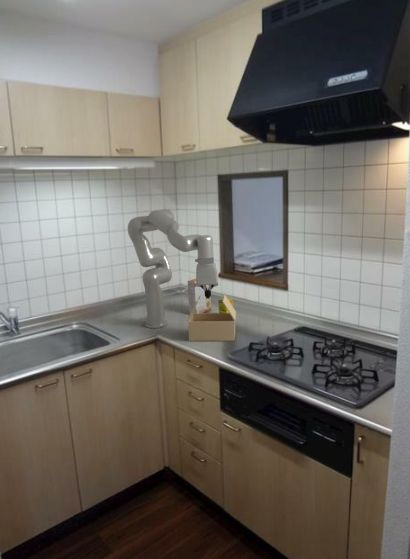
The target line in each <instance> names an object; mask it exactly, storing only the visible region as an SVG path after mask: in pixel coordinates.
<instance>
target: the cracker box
mask: <svg viewBox="0 0 410 559" xmlns="http://www.w3.org/2000/svg"><path fill="white" fill-rule="evenodd" d="M196 285H197V283H196V278H193V279H190V280H187V293H188V294H187V295H188V309H189V314H190V313H191V311H192V309H193V307H194V305H195V304H196V302H197V300H198V298H199V296H200V295H201V297H200V299H199V301H198V303H197V305H196V307H195V309H194V311H193V313H205V312H206V313H208V312H210V310H211V311H212V302H211V301H212V300H211V297H210V298H209V299H208V298H207V299H206V297H205V291H204V290H203V289H202V288H201V287H197V286H196ZM206 288H207V290H208V288H209V285H206ZM207 311H208V312H207ZM191 315H192V314H191Z"/></svg>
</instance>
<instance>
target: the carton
mask: <svg viewBox="0 0 410 559" xmlns="http://www.w3.org/2000/svg"><path fill="white" fill-rule="evenodd" d="M187 322H188V323H187V325H188V342H191V343H193V342H195V343H196V342H197V343H198V342H235V340H236V338H235V337H236V320H235V321H234V319H233V318H232V316H231V315H230V313H219V312H218V313H217V312H212V313H211V312H206V313H192V315H191V316H190V318H189V320H188V321H187Z"/></svg>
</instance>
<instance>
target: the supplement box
mask: <svg viewBox="0 0 410 559" xmlns="http://www.w3.org/2000/svg"><path fill="white" fill-rule="evenodd" d="M227 298H228V297H227ZM228 300H229V302H230V303H231V305H232V306H233V307H234V298H228ZM222 301H223V297H222V298H219V299H218V313H229V312H228V310H227V308H226V307H225V305H224V304H223V302H222Z"/></svg>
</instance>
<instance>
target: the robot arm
mask: <svg viewBox="0 0 410 559" xmlns="http://www.w3.org/2000/svg"><path fill="white" fill-rule="evenodd" d="M179 225H180V224H179V223H178V222H177V221H176V220H175V215H174V213H173V212H172V211H171V210H170V209H156V210H155V209H154V210H153V211H151V212H149V213H148V215H142V216H141V215H140V216H137V217H136V216H135V217H133V218H132V219H130V220H129V221H128V224H127V233H128V237H129V238H130V240H131V243H132V244H133V247H134V250H135V253H136V255H137V258H138V262H139V264H140V266H141V267H143V268H149V269H146V271H144V273H143V274H142V278H141V279H142V283H143V288H144V292H145V305H146V317H140V318H139V321H140V322H142V323H144V327H146V328H149V329H160V328H164V327H167V325H168V324H169V322H168V320H166V319H165V318H166V317H165V316H166V315H165V304H164V292H163V289H162V288H161V286H160V285H163V284H167V283H169V282H170V281H171V280H172V277H173V273H172V269H171V266H170V263H169V261H168V258H167V257H168V256H167V255H166V252H165V251H164V250H163V249H162V248H160V247H153V248H152V246H151V243H150V240H149V238H148V237H147V236H146V235H145V234H144V233H148V232H153V231H154V232H155V231H157V230H158V231H160V232H161V233H163V234H164V235H165V236H166V237H167V240H168V242H169V244H170V246H172V247H174V248H176V249H177V250H178V251H180V252H183V253H188V252H191V251H197V258H196V259H194V262H195V263H197V264H196V268H195V269H196V270H195V279H196V283H197V285H196V286H197V287H201V288H202V289H203V290H204V291H205V297H206V299H207V298H208V299H209V298H211V297H212V289H214V288H215V287H218V286H219V282H218V271H217V266H216V263H215V261H214V260H215V259H214V258H215V257H214V242H213V241H214V240H213V236H212V235H201V234H191V235H185V236H184V235H182V234H180V233H179V232H178V230H179V227H180V226H179ZM154 266H155V267H154ZM151 267H152V268H151ZM206 285H209V288H208V290H207V288H206Z"/></svg>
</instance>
